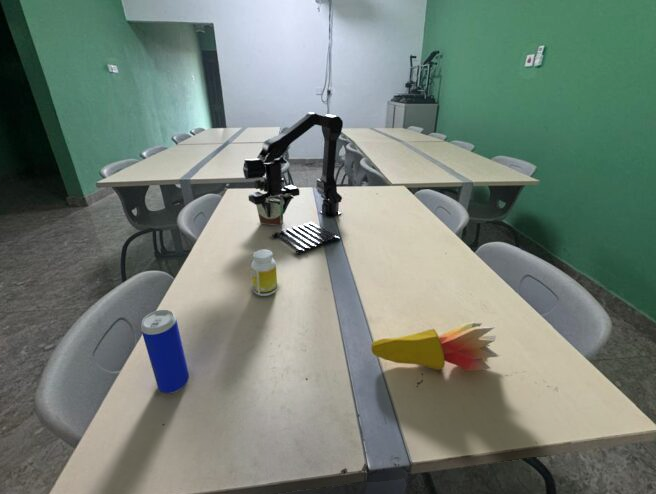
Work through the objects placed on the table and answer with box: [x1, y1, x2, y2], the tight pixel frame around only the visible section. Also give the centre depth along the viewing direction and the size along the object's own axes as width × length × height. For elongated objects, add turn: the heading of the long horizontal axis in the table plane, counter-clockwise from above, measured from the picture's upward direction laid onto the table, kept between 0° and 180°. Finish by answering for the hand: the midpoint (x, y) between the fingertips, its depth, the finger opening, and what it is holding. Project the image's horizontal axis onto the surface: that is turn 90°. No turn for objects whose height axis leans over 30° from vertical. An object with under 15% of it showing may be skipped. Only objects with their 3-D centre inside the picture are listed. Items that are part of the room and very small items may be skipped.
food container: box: [255, 196, 285, 227], centre depth 122 cm, size 12×6×10 cm, turn 67°
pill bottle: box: [250, 249, 278, 297], centre depth 82 cm, size 6×6×11 cm
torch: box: [370, 321, 501, 372], centre depth 63 cm, size 8×8×25 cm
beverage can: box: [140, 309, 190, 394], centre depth 55 cm, size 5×5×15 cm
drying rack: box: [271, 221, 341, 256], centre depth 112 cm, size 18×16×2 cm
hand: (275, 215), depth 121 cm, fingers closed on food container, 6 cm apart
